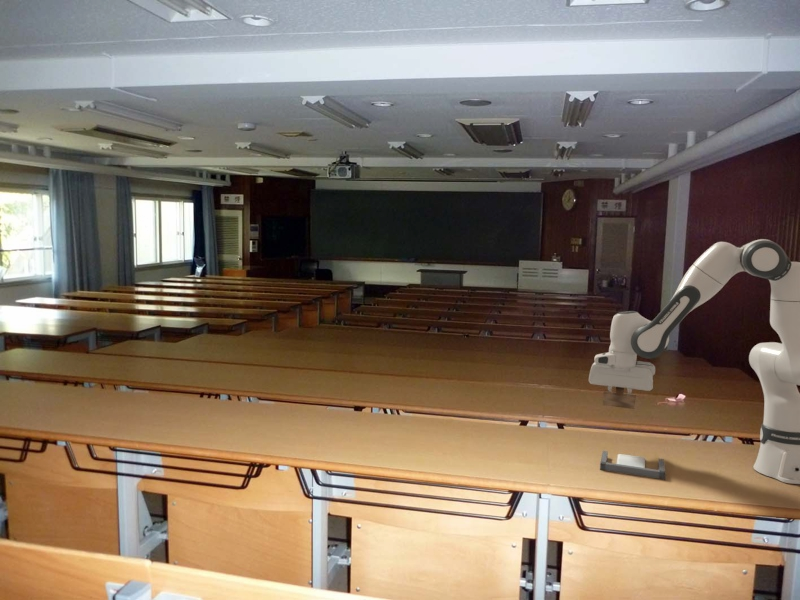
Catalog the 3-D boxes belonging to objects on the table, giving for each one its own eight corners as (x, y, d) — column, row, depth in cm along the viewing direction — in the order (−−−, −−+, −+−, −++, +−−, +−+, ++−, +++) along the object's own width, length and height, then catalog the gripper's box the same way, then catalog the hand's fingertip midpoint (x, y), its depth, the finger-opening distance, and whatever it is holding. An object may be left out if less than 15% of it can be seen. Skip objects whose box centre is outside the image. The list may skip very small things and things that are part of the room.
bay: (663, 465, 190) (663, 459, 190) (664, 479, 179) (665, 472, 178) (602, 456, 197) (602, 450, 196) (600, 469, 185) (600, 463, 185)
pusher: (635, 395, 208) (636, 383, 205) (634, 409, 202) (635, 397, 200) (604, 391, 211) (604, 379, 209) (602, 405, 206) (603, 393, 203)
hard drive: (645, 470, 183) (645, 456, 194) (616, 465, 186) (617, 453, 197) (644, 475, 183) (644, 462, 194) (615, 471, 186) (617, 458, 197)
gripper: (655, 361, 203) (651, 402, 205) (591, 354, 210) (588, 394, 212) (656, 364, 197) (652, 406, 199) (590, 357, 204) (586, 398, 206)
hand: (618, 400), depth 205 cm, fingers closed on pusher, 2 cm apart
